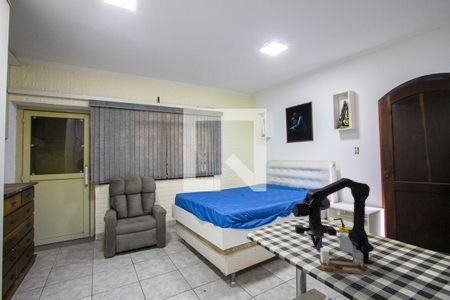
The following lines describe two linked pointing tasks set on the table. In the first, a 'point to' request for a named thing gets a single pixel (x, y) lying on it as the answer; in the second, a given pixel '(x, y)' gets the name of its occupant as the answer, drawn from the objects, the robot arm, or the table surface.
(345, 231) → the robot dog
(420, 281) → the table surface
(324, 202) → the rubber mallet
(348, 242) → the medicine box
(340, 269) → the wooden peg rack
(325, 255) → the slider
